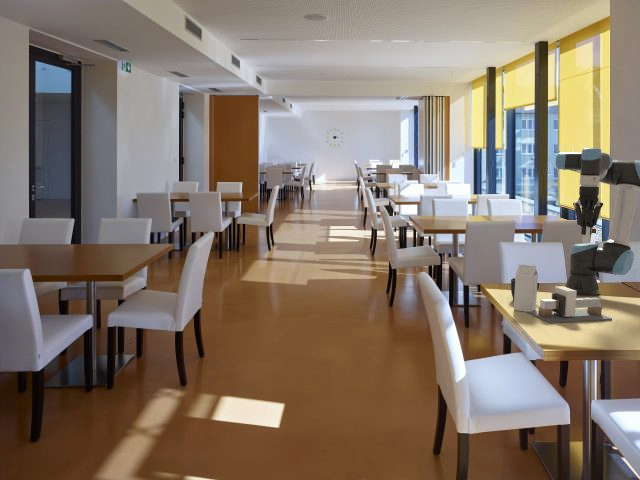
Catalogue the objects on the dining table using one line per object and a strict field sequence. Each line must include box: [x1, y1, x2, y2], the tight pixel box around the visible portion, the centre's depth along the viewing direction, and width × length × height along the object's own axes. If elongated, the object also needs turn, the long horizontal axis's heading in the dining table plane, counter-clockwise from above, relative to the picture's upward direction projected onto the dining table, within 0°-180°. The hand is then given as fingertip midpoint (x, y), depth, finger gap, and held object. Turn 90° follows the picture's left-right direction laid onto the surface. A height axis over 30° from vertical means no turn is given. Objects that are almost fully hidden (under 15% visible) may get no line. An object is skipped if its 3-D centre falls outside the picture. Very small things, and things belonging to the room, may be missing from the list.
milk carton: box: [513, 263, 539, 313], centre depth 285 cm, size 7×7×19 cm
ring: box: [551, 292, 566, 315], centre depth 273 cm, size 2×7×7 cm, turn 13°
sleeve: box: [553, 285, 577, 317], centre depth 274 cm, size 4×9×10 cm, turn 13°
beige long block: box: [538, 297, 603, 318], centre depth 275 cm, size 25×5×7 cm, turn 103°
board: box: [528, 308, 613, 324], centre depth 275 cm, size 27×16×1 cm, turn 103°
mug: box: [510, 277, 540, 302], centre depth 302 cm, size 8×12×10 cm
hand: (585, 242), depth 286 cm, fingers closed
